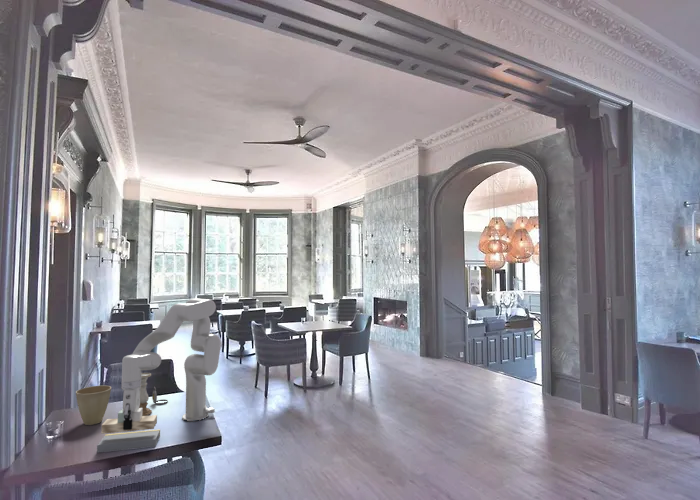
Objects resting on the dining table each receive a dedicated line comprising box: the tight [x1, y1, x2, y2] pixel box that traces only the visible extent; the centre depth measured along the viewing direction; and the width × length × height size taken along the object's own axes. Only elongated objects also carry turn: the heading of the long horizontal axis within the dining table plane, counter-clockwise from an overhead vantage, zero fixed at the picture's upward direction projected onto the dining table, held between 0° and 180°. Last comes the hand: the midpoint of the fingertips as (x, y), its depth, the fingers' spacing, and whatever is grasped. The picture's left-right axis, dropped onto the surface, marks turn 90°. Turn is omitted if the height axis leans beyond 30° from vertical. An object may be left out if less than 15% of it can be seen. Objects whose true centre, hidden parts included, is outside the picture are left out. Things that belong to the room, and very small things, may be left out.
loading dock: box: [96, 429, 161, 453], centre depth 177 cm, size 22×11×3 cm, turn 105°
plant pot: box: [75, 385, 112, 426], centre depth 202 cm, size 15×15×16 cm
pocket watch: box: [151, 387, 169, 405], centre depth 230 cm, size 8×8×10 cm
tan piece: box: [101, 414, 158, 435], centre depth 177 cm, size 20×7×4 cm, turn 105°
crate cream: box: [130, 408, 143, 422], centre depth 177 cm, size 4×5×4 cm
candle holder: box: [139, 372, 153, 416], centre depth 213 cm, size 9×9×20 cm
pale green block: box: [117, 408, 130, 423], centre depth 176 cm, size 4×5×4 cm
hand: (129, 425), depth 177 cm, fingers closed on tan piece, 7 cm apart
